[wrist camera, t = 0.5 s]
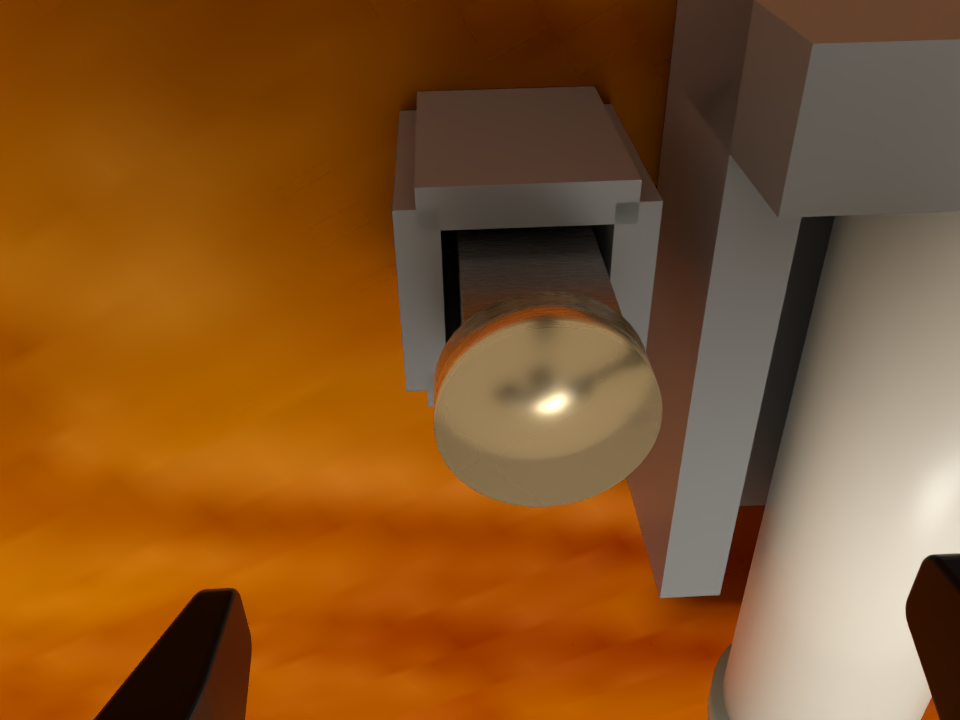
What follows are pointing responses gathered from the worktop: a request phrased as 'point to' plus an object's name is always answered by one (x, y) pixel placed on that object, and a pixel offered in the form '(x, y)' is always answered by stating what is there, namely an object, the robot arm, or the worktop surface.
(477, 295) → the release plunger
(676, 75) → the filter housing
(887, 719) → the cylinder
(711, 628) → the worktop surface
